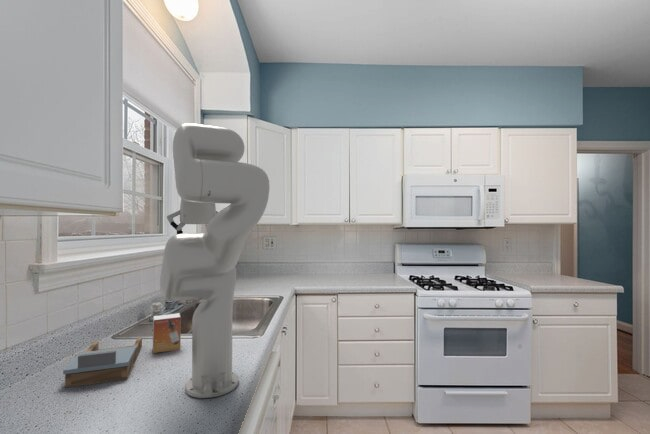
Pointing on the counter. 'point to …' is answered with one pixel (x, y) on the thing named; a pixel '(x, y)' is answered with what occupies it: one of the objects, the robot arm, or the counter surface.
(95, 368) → the cover
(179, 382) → the counter surface
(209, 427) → the counter surface
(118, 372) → the brown wooden shallow tray
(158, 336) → the small box
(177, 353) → the counter surface
